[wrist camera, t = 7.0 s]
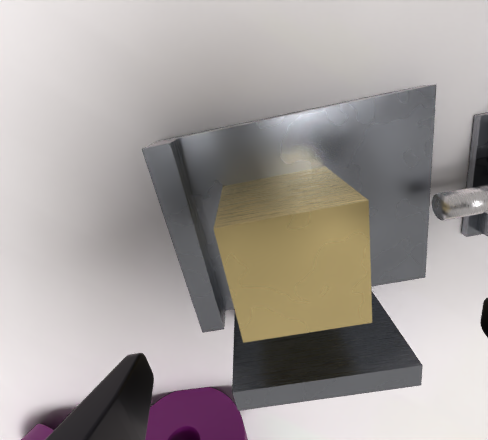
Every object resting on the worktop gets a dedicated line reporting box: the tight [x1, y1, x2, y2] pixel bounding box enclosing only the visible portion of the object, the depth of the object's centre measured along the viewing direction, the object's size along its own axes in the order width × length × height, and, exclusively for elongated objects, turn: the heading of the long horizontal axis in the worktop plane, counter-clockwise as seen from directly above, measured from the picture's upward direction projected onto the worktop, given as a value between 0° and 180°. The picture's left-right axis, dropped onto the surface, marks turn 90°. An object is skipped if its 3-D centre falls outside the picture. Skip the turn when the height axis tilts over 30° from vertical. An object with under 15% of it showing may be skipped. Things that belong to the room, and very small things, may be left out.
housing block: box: [214, 166, 372, 343], centre depth 12 cm, size 5×5×5 cm
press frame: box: [142, 85, 488, 411], centre depth 13 cm, size 24×12×6 cm, turn 101°
